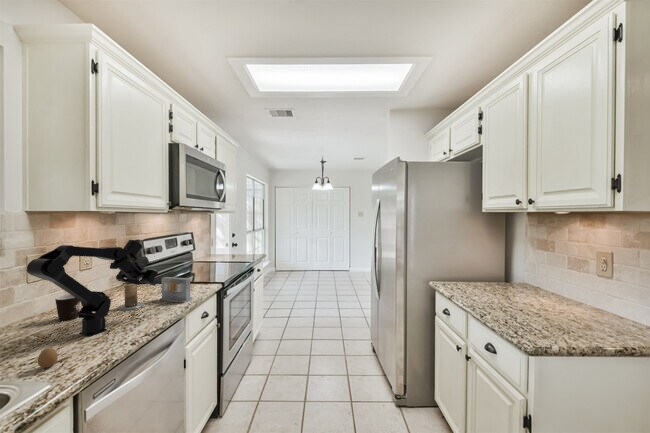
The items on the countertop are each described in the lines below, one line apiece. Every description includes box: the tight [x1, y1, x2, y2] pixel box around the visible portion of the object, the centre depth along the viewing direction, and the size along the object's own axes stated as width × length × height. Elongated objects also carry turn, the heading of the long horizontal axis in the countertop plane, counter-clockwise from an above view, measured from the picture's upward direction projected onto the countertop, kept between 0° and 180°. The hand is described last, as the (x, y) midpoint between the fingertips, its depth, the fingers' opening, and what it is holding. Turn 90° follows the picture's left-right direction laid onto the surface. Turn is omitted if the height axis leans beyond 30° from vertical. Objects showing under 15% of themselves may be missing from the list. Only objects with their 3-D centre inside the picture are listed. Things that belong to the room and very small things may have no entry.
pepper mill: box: [123, 282, 138, 308], centre depth 144 cm, size 5×5×16 cm
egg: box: [37, 347, 59, 369], centre depth 88 cm, size 4×4×6 cm
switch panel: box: [159, 276, 193, 304], centre depth 155 cm, size 6×16×12 cm, turn 76°
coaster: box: [117, 301, 145, 312], centre depth 144 cm, size 11×11×1 cm
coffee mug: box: [54, 294, 81, 322], centre depth 129 cm, size 12×9×10 cm
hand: (147, 284), depth 139 cm, fingers open, 9 cm apart
